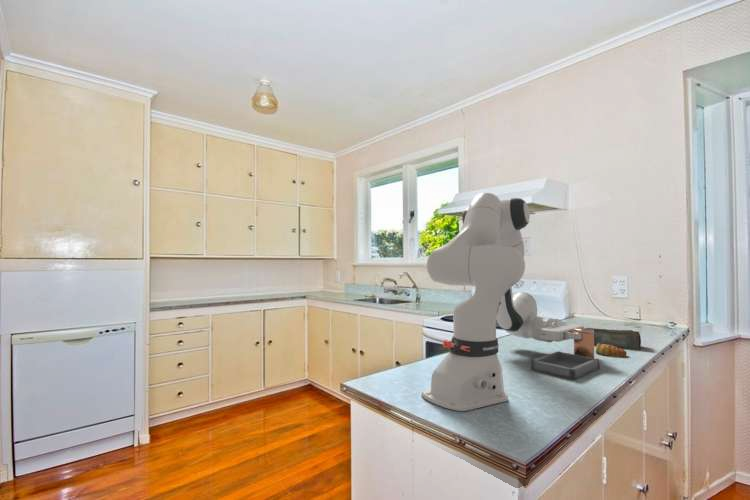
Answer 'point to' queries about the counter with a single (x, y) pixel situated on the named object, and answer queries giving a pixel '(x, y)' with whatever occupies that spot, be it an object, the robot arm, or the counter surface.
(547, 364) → the tray
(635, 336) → the beverage carton
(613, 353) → the pastry
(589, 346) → the tin can
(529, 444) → the counter surface
